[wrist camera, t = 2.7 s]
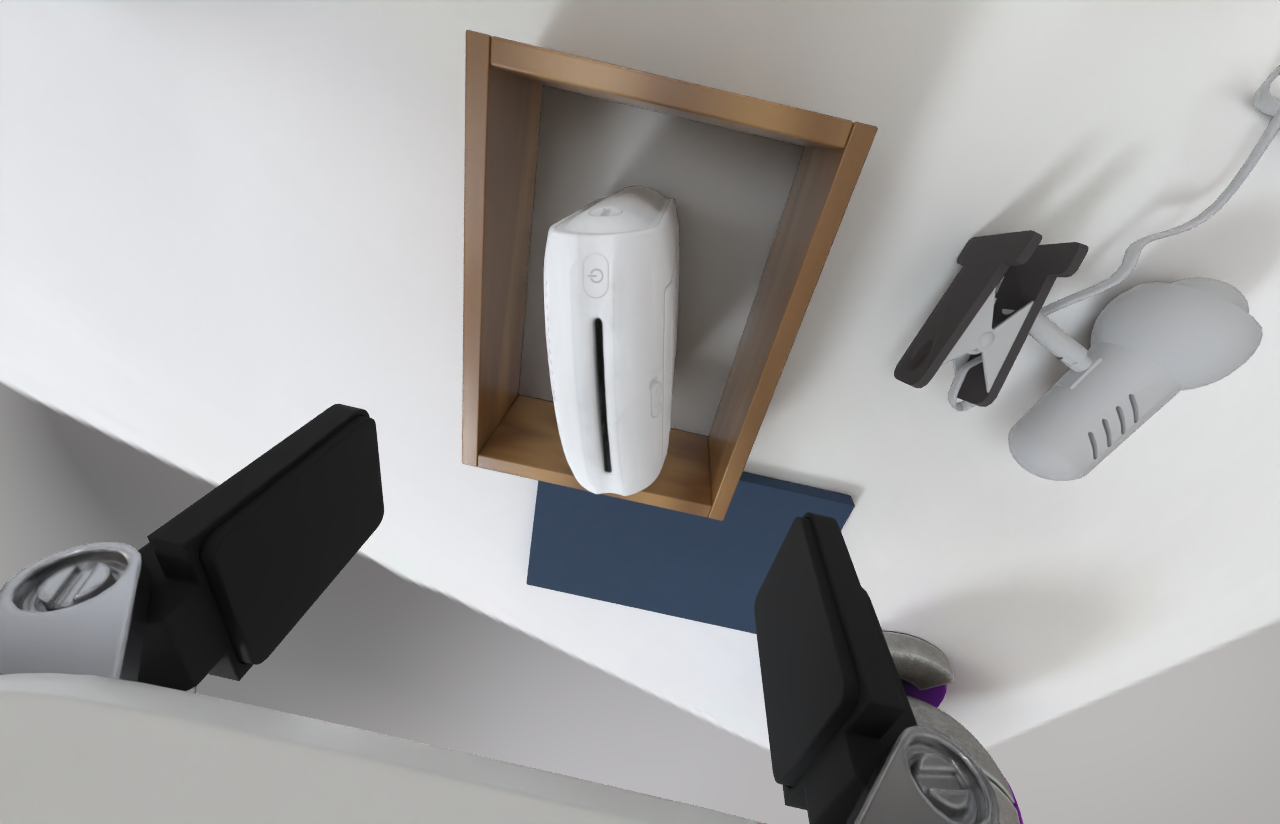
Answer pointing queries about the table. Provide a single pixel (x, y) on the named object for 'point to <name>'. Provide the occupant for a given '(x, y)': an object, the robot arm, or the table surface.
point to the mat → (670, 548)
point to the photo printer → (614, 336)
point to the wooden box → (500, 246)
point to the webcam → (925, 691)
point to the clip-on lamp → (1120, 340)
